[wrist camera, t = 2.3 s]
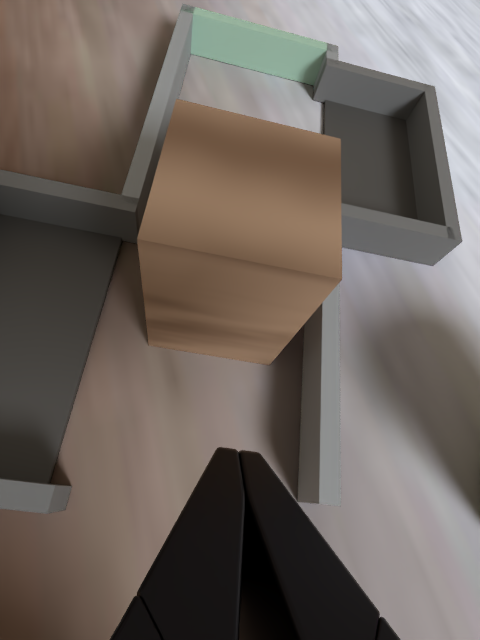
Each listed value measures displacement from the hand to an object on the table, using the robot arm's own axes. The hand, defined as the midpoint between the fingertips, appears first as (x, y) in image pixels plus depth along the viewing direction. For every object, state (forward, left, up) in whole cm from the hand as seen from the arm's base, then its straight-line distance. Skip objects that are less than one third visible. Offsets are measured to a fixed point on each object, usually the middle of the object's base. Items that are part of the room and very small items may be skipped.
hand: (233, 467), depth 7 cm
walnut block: (+10, +10, -13) cm, 19 cm away
